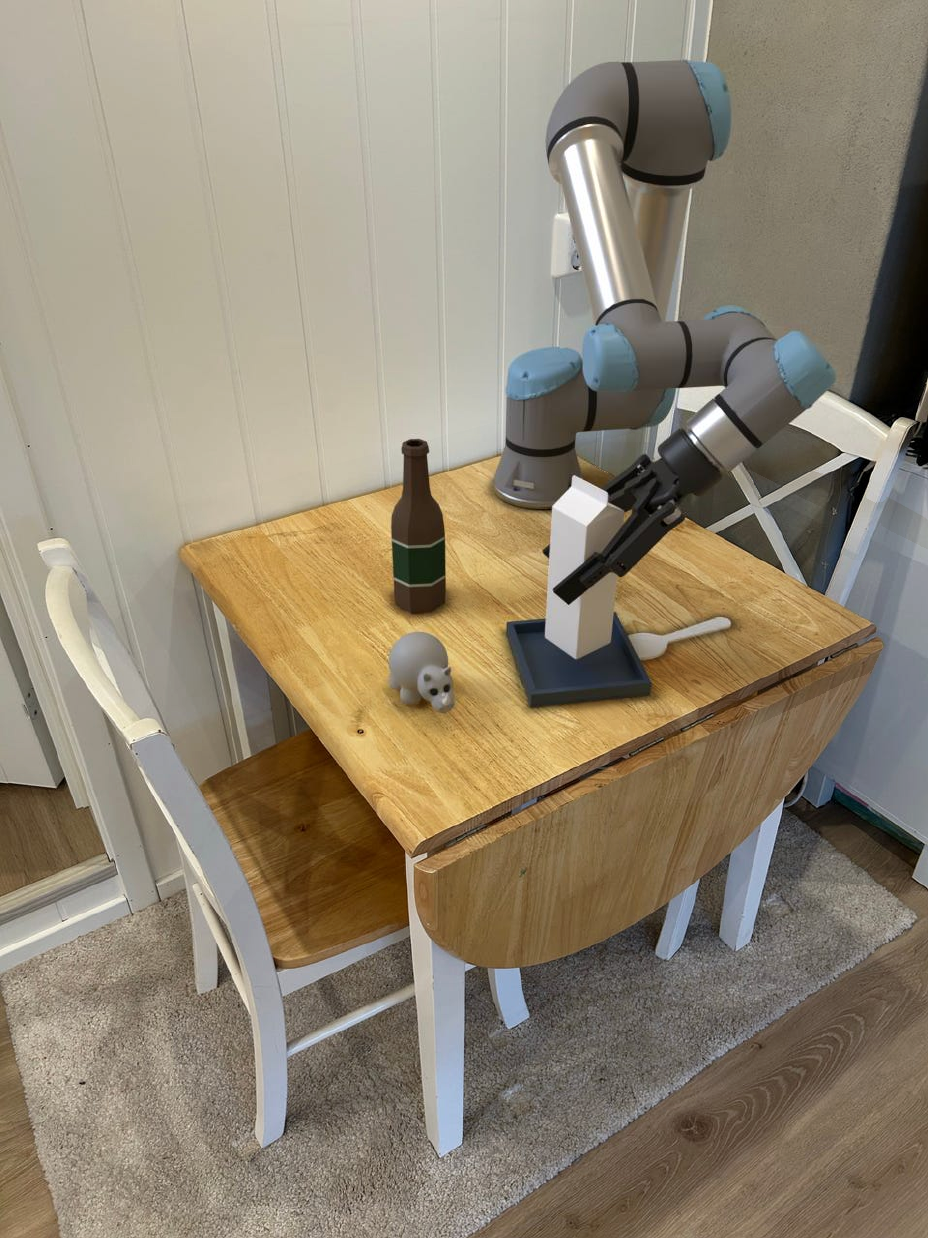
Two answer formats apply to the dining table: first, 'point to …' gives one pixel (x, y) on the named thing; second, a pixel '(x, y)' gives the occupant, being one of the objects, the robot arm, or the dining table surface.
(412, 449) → the beer bottle
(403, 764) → the dining table surface
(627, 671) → the tray
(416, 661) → the toy rhinoceros
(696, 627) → the spoon
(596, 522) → the milk
